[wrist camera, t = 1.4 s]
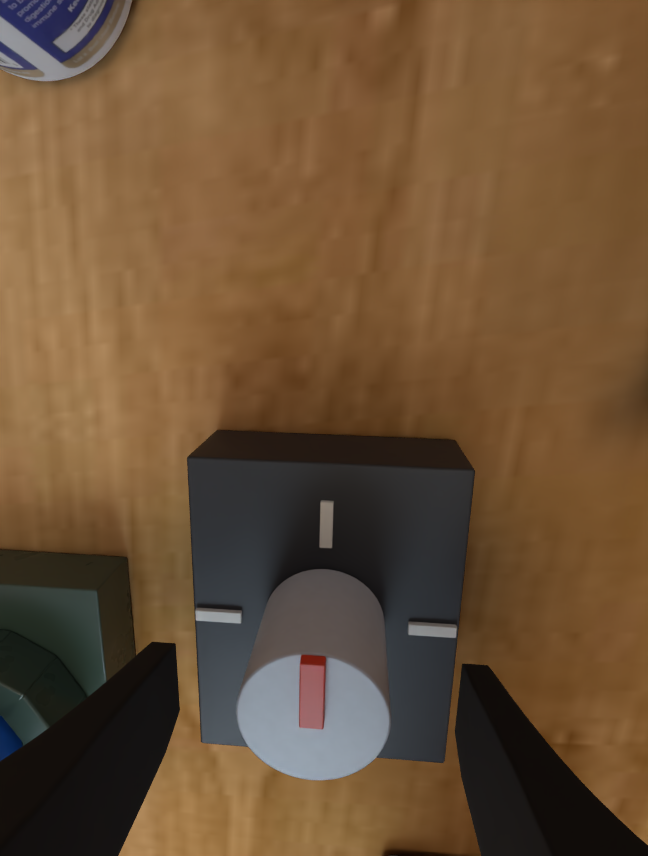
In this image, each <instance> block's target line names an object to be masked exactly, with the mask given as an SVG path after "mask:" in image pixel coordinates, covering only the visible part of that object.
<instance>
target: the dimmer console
mask: <svg viewBox="0 0 648 856" xmlns="http://www.w3.org/2000/svg"><path fill="white" fill-rule="evenodd" d="M187 465H188V485H189V505H190V526H191V546H192V566H193V586H194V606H195V626H196V646H197V666H198V686H199V707H200V727H201V742H202V743H210V744H222V745H234V746H246V747H249V746H248V745H247V744H246V742H245V740H244V739H243V737H242V734H241V732H240V730H239V726H238V722H237V715H236V704H237V699H238V694H239V691H240V688H241V685H242V682H243V678H244V675H245V672H246V669H247V666H248V662H249V659H250V656H251V653H252V650H253V646H254V643H255V640H256V637H257V634H258V630H259V627H260V624H261V621H262V618H263V614H264V611H265V608H266V605H267V602H268V600H269V598H270V596H271V594H272V593H273V592H274V590H275V589H276V588H277V587H278V586H279V585H280V584H281V583H282V582H283V581H285V580H286V579H288V578H289V577H291V576H293V575H295V574H298V573H300V572H303V571H308V570H314V569H329V570H335V571H339V572H343V573H345V574H348V575H350V576H352V577H354V578H356V579H358V580H359V581H361V582H362V583H363V584H364V585H365V586H367V587H368V588H369V589H370V590H371V592H372V593H373V594H374V595H375V597H376V598H377V600H378V602H379V604H380V606H381V608H382V611H383V615H384V623H385V638H386V653H387V667H388V682H389V697H390V711H391V726H390V732H389V735H388V739H387V741H386V743H385V745H384V747H383V749H382V750H381V752H380V753H379V755H378V756H377V758H389V759H401V760H413V761H425V762H437V763H444V761H445V753H446V743H447V733H448V724H449V714H450V705H451V695H452V686H453V676H454V667H455V657H456V648H457V638H458V629H459V619H460V610H461V600H462V590H463V581H464V571H465V562H466V552H467V543H468V533H469V524H470V514H471V505H472V495H473V486H474V476H475V470H474V468H473V467H472V465H471V464H470V462H469V461H468V459H467V458H466V456H465V455H464V453H463V451H462V450H461V448H460V447H459V445H458V444H457V442H456V441H455V440H442V439H418V438H394V437H370V436H346V435H321V434H297V433H273V432H249V431H225V430H217V431H216V432H214V433H213V434H212V435H211V436H210V437H209V438H208V439H207V440H206V441H205V442H203V443H202V444H201V445H200V446H199V447H198V448H197V449H196V450H195V451H194V452H192V453H191V454H190V455H189V456H188V458H187Z"/></svg>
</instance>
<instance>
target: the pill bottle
mask: <svg viewBox="0 0 648 856" xmlns="http://www.w3.org/2000/svg"><path fill="white" fill-rule="evenodd" d="M131 3H132V0H0V69H2V70H4V71H6V72H8V73H11V74H13V75H15V76H19V77H22V78H25V79H30V80H37V81H57V80H62V79H66V78H70V77H73V76H76V75H78V74H80V73H82V72H84V71H86V70H88V69H89V68H91V67H92V66H94V65H95V64H96V63H97V62H99V61H100V60H101V59H102V58H103V57H104V56H105V55H106V54H107V53H108V51H109V50H110V49H111V48H112V46H113V45H114V44H115V42H116V41H117V39H118V37H119V36H120V34H121V32H122V29H123V27H124V25H125V23H126V20H127V18H128V15H129V11H130V7H131Z"/></svg>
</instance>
